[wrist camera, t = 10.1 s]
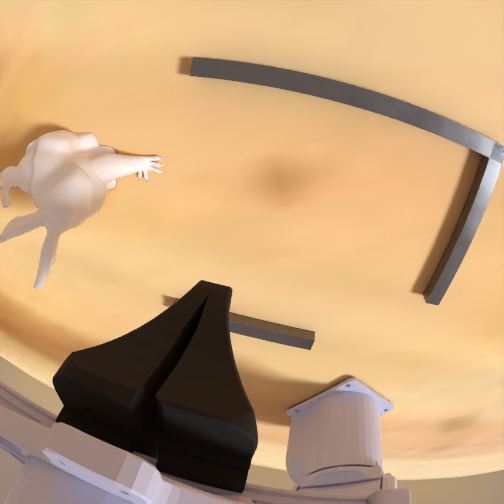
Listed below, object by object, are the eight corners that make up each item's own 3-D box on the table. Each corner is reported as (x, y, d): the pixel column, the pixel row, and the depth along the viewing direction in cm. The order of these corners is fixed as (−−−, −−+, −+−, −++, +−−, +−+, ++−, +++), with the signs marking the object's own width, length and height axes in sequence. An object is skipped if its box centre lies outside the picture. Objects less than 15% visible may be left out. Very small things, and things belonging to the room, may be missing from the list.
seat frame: (398, 357, 26) (399, 365, 26) (176, 308, 28) (172, 316, 27) (500, 144, 16) (507, 148, 15) (198, 58, 17) (193, 57, 16)
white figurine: (167, 158, 21) (80, 216, 13) (145, 244, 25) (77, 323, 17) (46, 113, 20) (-48, 147, 12) (39, 191, 24) (-38, 243, 16)
